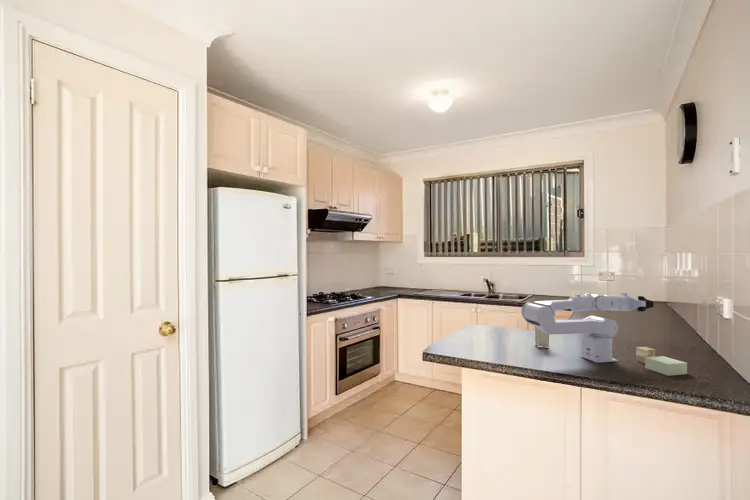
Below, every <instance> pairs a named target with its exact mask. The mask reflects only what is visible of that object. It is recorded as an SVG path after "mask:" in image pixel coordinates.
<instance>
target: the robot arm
mask: <svg viewBox="0 0 750 500" xmlns="http://www.w3.org/2000/svg"><path fill="white" fill-rule="evenodd" d="M651 308H654V301H653V300H650V299H648V298H646V297H645V296H642V295H638V296H637V298H634V297H631V296H629V295H628V292H621V294H620V295H618V294H617V295H612V294H595V293H584V294H582V295H581V294H579V293H575V294H574V295H571V296H570V297H569V298H568V299H553V300H552V299H551V300H537V301H533V302H526V303H524V305H522V307H521V312H520V313H521V315H522V317H523V319H524V320H525V322H526V323H528V324H529V325H532V326H533V327H534V328H535V327H536V328H537V329H539V330H540V331H542V332H543V333H546V334H549V336H550V335H552V336H553V335H571V334H573V335H574V334H589V335H587V336H584V338H583V339H582V347H581V348H582V350H581V352H582V353H581V354H580V358H583V359H586V360H588V361H592V362H594V363H610V362H611V363H612V362H613V363H614V362H618V361H619V360H618V359H616V358H614V357H613V338H614V337H615V336H616V334H617V332H618V331H619V326H618V323H617V321H616V320H614V319H611V318H610V319H609V318H604V317H601V316H596V315H589V316H587V317H583V318H581V319H557V320H556V319H555V316H556V312H557V311H563V310H571V311H572V312H587V311H592V310H593V311H598V312H604V311H613V312H614V311H620V312H630V311H633V310H635V309H637V312H645V311H646V310H647V309H648V310H649V309H651Z"/></svg>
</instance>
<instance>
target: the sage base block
mask: <svg viewBox="0 0 750 500" xmlns="http://www.w3.org/2000/svg"><path fill="white" fill-rule="evenodd" d="M644 364H645V365H644V367H645V369H647V370H649V371H653V372H655V373H659V374H662V375H664V376H668V377H669V376H678V375H679V376H682V375H687V374H688V362H685V361H682V360H677V359H674V358H671V357H667V356H664V355H661V356H655V357H645V363H644Z"/></svg>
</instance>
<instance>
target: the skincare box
mask: <svg viewBox="0 0 750 500" xmlns="http://www.w3.org/2000/svg"><path fill="white" fill-rule="evenodd" d="M534 329H535V330H534V333H535V335H534V337H535V338H534V340H535V341H534V344H535V343H536V344H537V345H538V346H542V347H548V348H549V349H550V334H546V333H543V332H542V331H540V330H539V329H537V328H536V327H534Z"/></svg>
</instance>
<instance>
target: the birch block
mask: <svg viewBox="0 0 750 500" xmlns="http://www.w3.org/2000/svg"><path fill="white" fill-rule="evenodd" d="M635 349H636V351H635V354H636V355H635V361H636V362H638V363H642V364H645V357H656V349H655V348H651V347H647V346H637V347H636V348H635Z"/></svg>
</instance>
